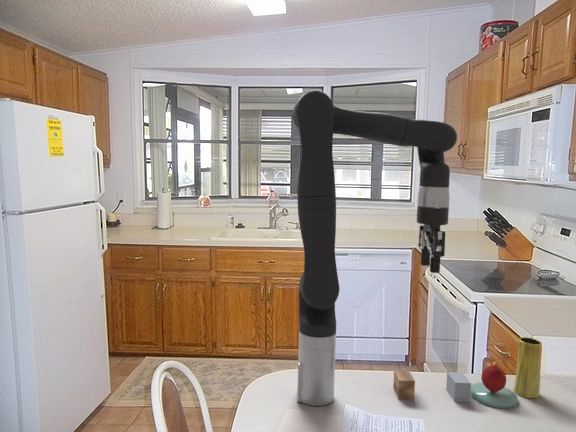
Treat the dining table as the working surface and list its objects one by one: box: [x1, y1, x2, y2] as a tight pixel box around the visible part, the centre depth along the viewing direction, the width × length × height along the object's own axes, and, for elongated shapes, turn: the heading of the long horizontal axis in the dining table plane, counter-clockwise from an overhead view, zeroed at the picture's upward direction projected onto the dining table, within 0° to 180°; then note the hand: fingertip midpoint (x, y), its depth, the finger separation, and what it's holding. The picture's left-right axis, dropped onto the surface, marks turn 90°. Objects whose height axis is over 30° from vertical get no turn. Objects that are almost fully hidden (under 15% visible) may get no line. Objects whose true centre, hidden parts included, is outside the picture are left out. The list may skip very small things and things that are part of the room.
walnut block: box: [392, 369, 416, 401], centre depth 113 cm, size 4×6×5 cm, turn 178°
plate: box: [470, 382, 518, 409], centre depth 113 cm, size 11×11×1 cm
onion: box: [480, 361, 507, 393], centre depth 112 cm, size 6×6×8 cm
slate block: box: [445, 371, 472, 403], centre depth 113 cm, size 4×6×5 cm, turn 178°
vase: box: [513, 336, 543, 399], centre depth 115 cm, size 6×6×14 cm
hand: (429, 268), depth 111 cm, fingers open, 8 cm apart
